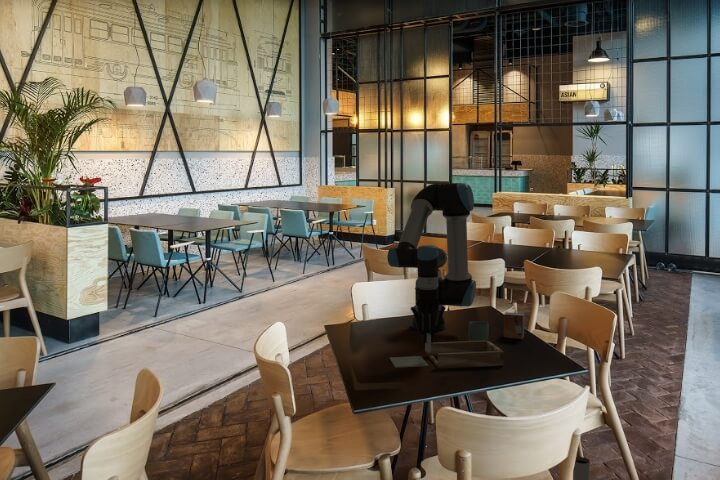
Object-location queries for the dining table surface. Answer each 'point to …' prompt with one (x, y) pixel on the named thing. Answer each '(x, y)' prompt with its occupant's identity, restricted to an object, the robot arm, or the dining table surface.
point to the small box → (514, 325)
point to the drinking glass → (581, 468)
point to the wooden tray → (466, 354)
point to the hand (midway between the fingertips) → (428, 351)
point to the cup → (478, 330)
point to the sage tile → (408, 361)
